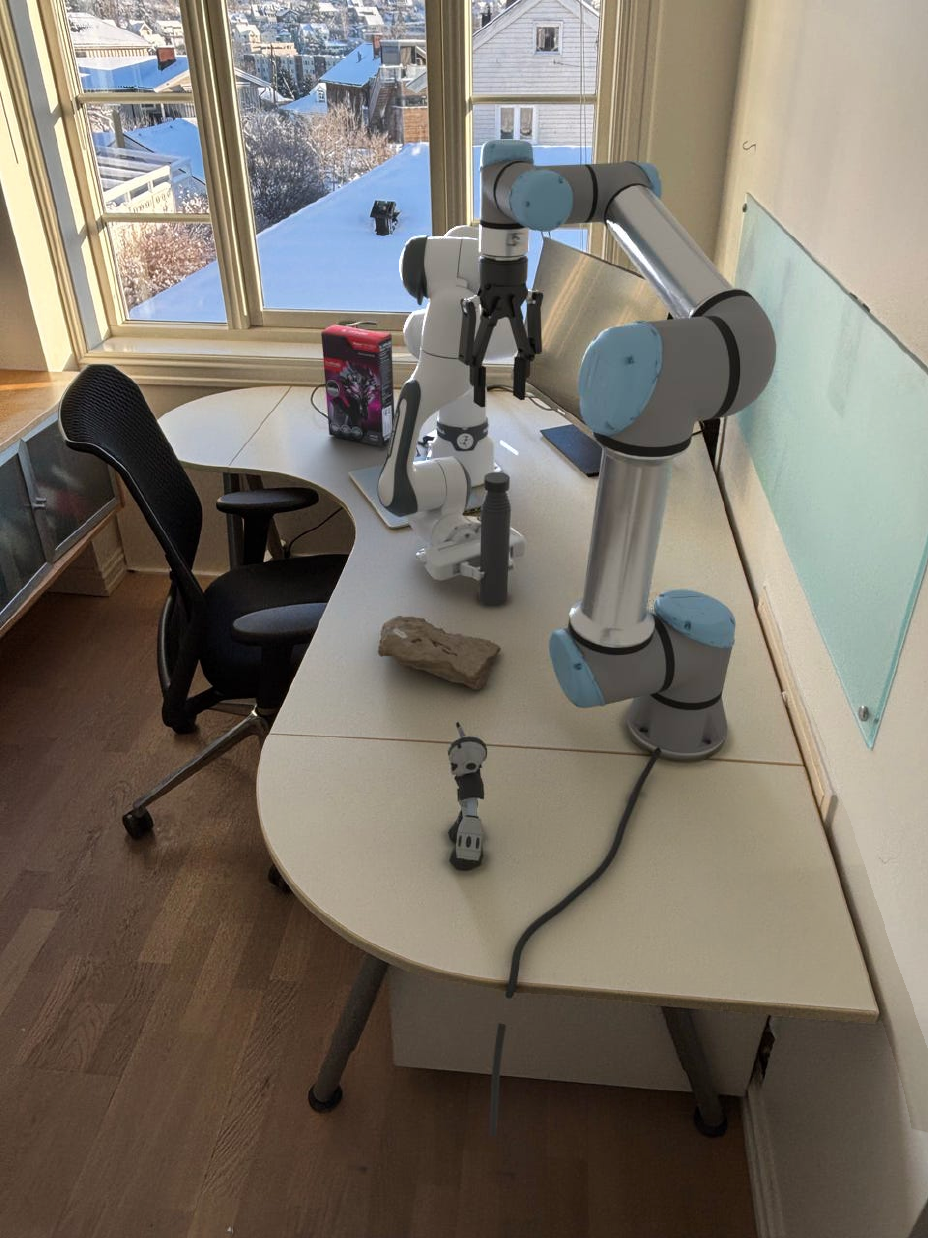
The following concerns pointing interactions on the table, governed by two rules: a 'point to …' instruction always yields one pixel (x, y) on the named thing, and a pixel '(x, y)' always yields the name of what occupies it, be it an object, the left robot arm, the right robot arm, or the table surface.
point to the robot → (467, 799)
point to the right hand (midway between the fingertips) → (499, 400)
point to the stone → (438, 651)
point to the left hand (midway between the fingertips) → (497, 571)
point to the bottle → (495, 548)
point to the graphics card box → (359, 384)
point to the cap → (496, 482)
